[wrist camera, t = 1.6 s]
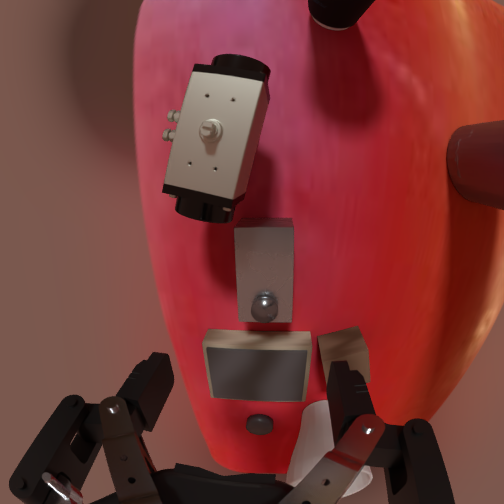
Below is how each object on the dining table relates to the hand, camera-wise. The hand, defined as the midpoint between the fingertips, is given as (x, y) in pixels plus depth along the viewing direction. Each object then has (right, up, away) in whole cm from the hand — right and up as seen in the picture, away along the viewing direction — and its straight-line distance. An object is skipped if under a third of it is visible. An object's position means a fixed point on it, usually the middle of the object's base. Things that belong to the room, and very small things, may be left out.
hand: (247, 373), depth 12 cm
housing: (+2, +5, +17) cm, 17 cm away
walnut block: (+11, -6, +19) cm, 22 cm away
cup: (+11, -18, +22) cm, 31 cm away
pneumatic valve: (-2, +16, +14) cm, 21 cm away
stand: (+1, -8, +20) cm, 22 cm away
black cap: (+2, -20, +24) cm, 31 cm away
